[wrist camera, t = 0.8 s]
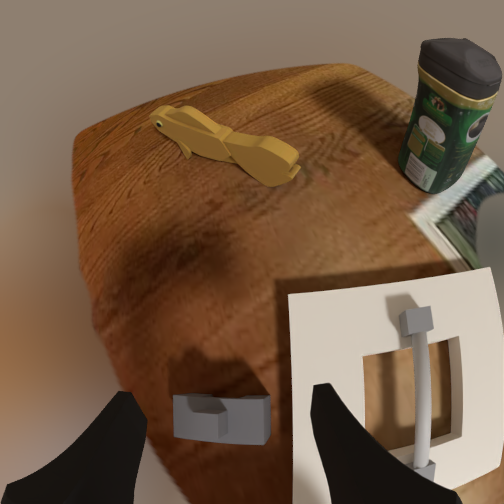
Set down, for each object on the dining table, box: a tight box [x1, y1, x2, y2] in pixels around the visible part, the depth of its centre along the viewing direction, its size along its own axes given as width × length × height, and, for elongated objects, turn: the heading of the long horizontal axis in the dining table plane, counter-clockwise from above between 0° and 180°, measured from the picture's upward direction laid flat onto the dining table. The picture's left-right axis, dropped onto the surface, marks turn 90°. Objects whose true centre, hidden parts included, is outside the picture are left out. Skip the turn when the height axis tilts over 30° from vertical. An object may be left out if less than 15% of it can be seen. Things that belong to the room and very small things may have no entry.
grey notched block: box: [173, 393, 271, 445], centre depth 20 cm, size 4×8×6 cm, turn 91°
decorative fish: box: [149, 105, 301, 187], centre depth 33 cm, size 22×3×10 cm, turn 55°
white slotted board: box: [288, 267, 504, 504], centre depth 18 cm, size 22×22×4 cm
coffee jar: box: [398, 38, 502, 194], centre depth 21 cm, size 10×8×19 cm
